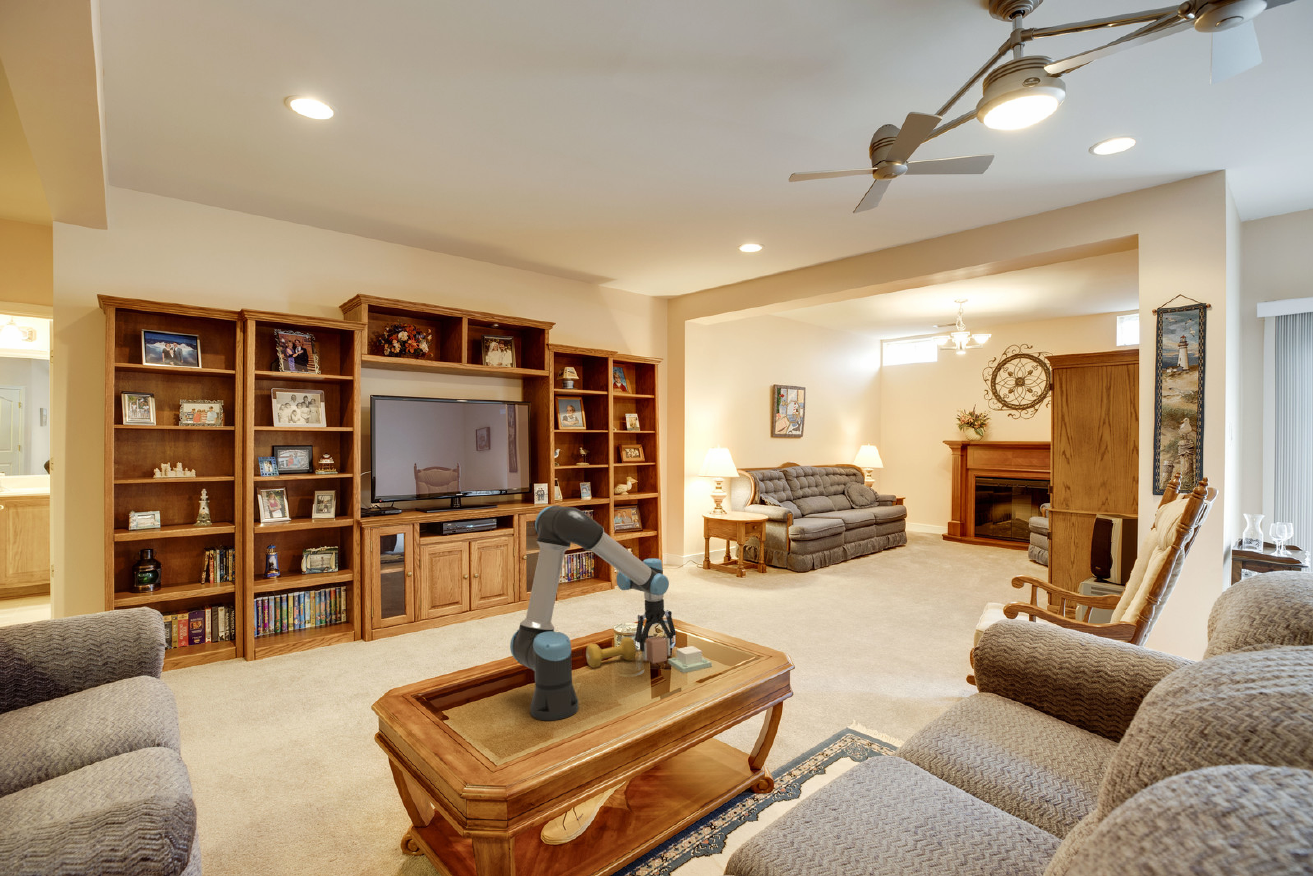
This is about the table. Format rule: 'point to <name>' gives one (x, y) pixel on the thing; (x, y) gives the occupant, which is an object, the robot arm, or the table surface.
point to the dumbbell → (610, 652)
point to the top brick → (656, 649)
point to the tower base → (692, 666)
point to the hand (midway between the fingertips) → (656, 657)
